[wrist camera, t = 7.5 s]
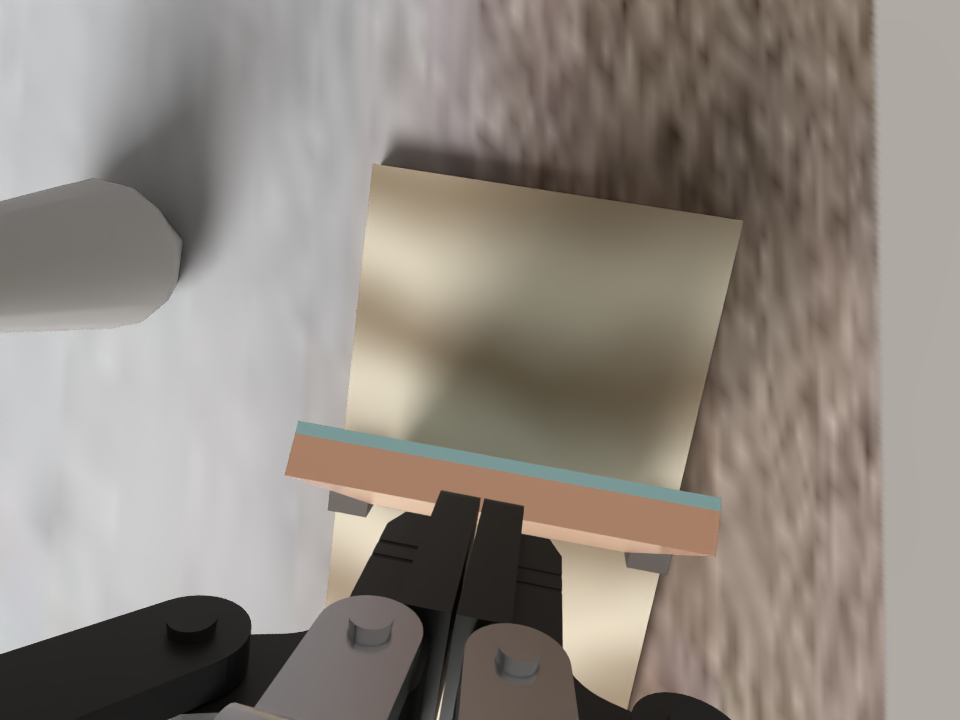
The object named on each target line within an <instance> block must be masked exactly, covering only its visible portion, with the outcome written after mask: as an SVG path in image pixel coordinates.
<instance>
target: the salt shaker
mask: <svg viewBox="0 0 960 720" xmlns="http://www.w3.org/2000/svg"><path fill="white" fill-rule="evenodd" d="M182 245H183V240H182V239H181V238H180V236H179V235H178V234H177V233H176V232H175V230H174V229H173V228H172V227H171V225H170V224H169V223H168V221H167V220H166V219H165V217H164V216H163V214H162V213H161V211H160V210H159V209H158V208H157V207H155V206H154V205H153V204H152V203H151V202H149V201H148V200H147V199H146V198H145V197H144V196H142V195H141V194H140V193H139V192H138V191H137V190H135V189H134V188H132V187H128V186H125V185H120V184H116V183H112V182H108V181H103V180H99V179H95V178H93V179H88V180H84V181H80V182H75V183H71V184H66V185H62V186H58V187H54V188H50V189H46V190H43V191H39V192H35V193H31V194H27V195H23V196H19V197H16V198H12V199H8V200H4V201H0V333H10V332H38V331H66V330H93V329H113V328H117V327H122V326H126V325H131V324H136V323H140V322H142V321H143V320H145V319H146V318H148V317H149V316H150V315H151V314H152V313H154V312H155V311H156V310H157V309H158V308H159V307H161V306H162V305H163V304H164V303H165V302H167V301H168V300H169V298H170V296H171V294H172V292H173V290H174V288H175V286H176V285H177V283H178V276H179V268H180V261H181V253H182Z"/></svg>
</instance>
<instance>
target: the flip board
mask: <svg viewBox="0 0 960 720" xmlns="http://www.w3.org/2000/svg"><path fill="white" fill-rule="evenodd" d="M742 226H743V221H742V220H736V219H729V218H723V217H716V216H710V215H703V214H697V213H690V212H684V211H677V210H671V209H664V208H658V207H651V206H645V205H638V204H632V203H625V202H619V201H612V200H606V199H599V198H593V197H586V196H580V195H573V194H567V193H560V192H554V191H547V190H541V189H534V188H528V187H521V186H515V185H508V184H502V183H495V182H489V181H482V180H476V179H469V178H463V177H456V176H450V175H443V174H437V173H430V172H424V171H417V170H411V169H404V168H397V167H391V166H384V165H378V164H373V166H372V175H371V184H370V194H369V203H368V212H367V222H366V231H365V241H364V250H363V259H362V269H361V278H360V288H359V297H358V306H357V316H356V325H355V334H354V344H353V353H352V363H351V372H350V381H349V391H348V400H347V409H346V419H345V428H344V429H345V430H351V431H356V432H362V433H367V434H373V435H378V436H384V437H389V438H395V439H400V440H406V441H411V442H417V443H422V444H428V445H433V446H439V447H444V448H450V449H455V450H461V451H466V452H472V453H477V454H482V455H488V456H493V457H499V458H504V459H510V460H515V461H521V462H526V463H532V464H537V465H543V466H548V467H554V468H559V469H565V470H570V471H576V472H581V473H587V474H592V475H598V476H603V477H609V478H614V479H620V480H625V481H631V482H636V483H642V484H647V485H653V486H658V487H663V488H669V489H674V490H680V486H681V481H682V477H683V473H684V469H685V465H686V460H687V456H688V452H689V448H690V444H691V439H692V435H693V431H694V427H695V423H696V418H697V414H698V410H699V406H700V402H701V397H702V393H703V389H704V385H705V381H706V377H707V372H708V368H709V364H710V360H711V356H712V351H713V347H714V343H715V339H716V335H717V330H718V326H719V322H720V318H721V314H722V309H723V305H724V301H725V297H726V293H727V288H728V284H729V280H730V276H731V272H732V267H733V263H734V259H735V255H736V251H737V247H738V242H739V238H740V234H741V230H742ZM328 510H329V511H334V512H336V513H335V522H334V531H333V541H332V550H331V560H330V569H329V578H328V588H327V597H326V606H325V608H326V607H328V606H329V605H330V604H332V603H334V602H336V601H338V600H341V599H344V598H348V597H350V595H351V593H352V591H353V589H354V587H355V585H356V583H357V581H358V579H359V577H360V575H361V573H362V571H363V569H364V568H365V566H366V564H367V562H368V560H369V558H370V556H372V552H373V550H374V548H375V546H376V544H377V542H379V538H380V536H381V534H382V533H383V531H384V529H385V527H386V525H387V523H388V522H390V521H391V520H393V519H395V518H396V517H398V516H400V515H401V514H403V513H404V512H406V511H401V510H396V509H390V508H385V507H380V506H377V505H373V504H370V503H367V502H364V501H361V500H358V499H355V498H352V497H349V496H346V495H343V494H340V493H337V492H334V491H331V490H330V494H329V504H328ZM477 527H478V525H477ZM477 527H476V531H477ZM521 534H522V533H521ZM475 535H476V533H475ZM526 535H527V534H526ZM531 536H533V535H531ZM537 537H538V536H537ZM542 538H543V537H542ZM547 539H548V538H547ZM550 540H551V542H552V543H553V545H554V546H555V547H556V549H557V550H558V552H559V553H560V555H561V556H562V616H563V649H564V650H565V652H566V653H567V655H568V657H569V659H570V662H571V666H572V673H573V675H574V677H575V678H576V679H577V680H578V681H579V682H580V683H581V684H582V685H583V686H585V687H586V688H587V689H588V690H590V691H591V692H593V693H594V694H596V695H597V696H599V697H601V698H603V699H605V700H607V701H609V702H611V703H613V704H615V705H618V706H620V707H622V708H624V709H626V710H627V708H628V704H629V699H630V695H631V691H632V687H633V683H634V678H635V674H636V670H637V666H638V662H639V657H640V653H641V649H642V645H643V641H644V637H645V632H646V628H647V624H648V620H649V616H650V611H651V607H652V603H653V599H654V595H655V590H656V586H657V582H658V578H659V574H664V575H667V574H668V570H669V566H670V562H671V557H672V554H652V553H630V552H617V551H612V550H606V549H601V548H596V547H591V546H585V545H580V544H575V543H569V542H564V541H559V540H554V539H550ZM444 686H445V685H444ZM443 692H444V690H443ZM442 698H443V694H442ZM442 698H441V703H440V707H439V711H438V716H437V720H439V717H440V710H441V704H442Z"/></svg>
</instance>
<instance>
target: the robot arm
mask: <svg viewBox="0 0 960 720" xmlns="http://www.w3.org/2000/svg"><path fill="white" fill-rule="evenodd" d="M480 502H481V498H480V497H475V496H470V495H464V494H459V493H454V492H449V491H443V490H441V491H440V493H439V496H438V498H437V501H436V504H435V506H434V509H433V511H432V514H431V516H427V515H422V514H417V513H412V512H407V511H406V512H404V513H403V514H401V515H400V516H398V517H396V518H395V519H393V520H391V521H390V522H388V523H387V525H386V527H385V529H384V531H383V533H382V534H381V536H380V538H379V542H377V544H376V546H375V548H374V550H373V552H372V556H370V558H369V560H368V562H367V564H366V566H365V568H364V569H363V571H362V573H361V575H360V577H359V579H358V581H357V583H356V585H355V587H354V589H353V591H352V593H351V595H350V597H348V598H344V599H341V600H338V601H336V602H334V603H332V604H330V605H329V606H328V607H326V608H325V609H324V610H323V611H322V612H321V614H320V615H319V616H318V618H317V619H316V620H315V622H314V623H313V625H312V626H311V628H310V629H309V630H307V631H303V632H297V633H289V634H254V635H251V620H250V617H249V615H248V614H247V612H246V611H245V610H244V609H243V608H242V607H240V606H239V605H237V604H236V603H234V602H232V601H229V600H227V599H223V598H219V597H214V596H200V595H197V596H186V597H180V598H175V599H172V600H168V601H165V602H162V603H159V604H155V605H152V606H149V607H146V608H143V609H140V610H137V611H134V612H131V613H127V614H124V615H121V616H118V617H115V618H112V619H109V620H106V621H102V622H99V623H96V624H93V625H90V626H87V627H84V628H81V629H78V630H74V631H71V632H68V633H65V634H62V635H59V636H56V637H53V638H50V639H46V640H43V641H40V642H37V643H34V644H31V645H28V646H25V647H22V648H18V649H15V650H12V651H9V652H6V653H3V654H0V720H437V716H438V711H439V707H440V703H441V698H442V694H443V698H442V704H441V710H440V717H439V720H731V719H730V718H728V717H727V716H726V715H725V714H723V713H722V712H721V711H719V710H717V709H716V708H714V707H713V706H711V705H709V704H707V703H705V702H703V701H701V700H698V699H696V698H693V697H690V696H687V695H683V694H678V693H668V692H662V693H654V694H650V695H647V696H645V697H643V698H642V699H640V700H639V701H638V702H637V703H636V704H635V706H634V707H633V710H632V712H631V711H629V710H626V709H624V708H622V707H620V706H618V705H615V704H613V703H611V702H609V701H607V700H605V699H603V698H601V697H599V696H597V695H596V694H594V693H593V692H591V691H590V690H588V689H587V688H586V687H585V686H583V685H582V684H581V683H580V682H579V681H578V680H577V679H576V678H575V677H574V675H573V673H572V666H571V662H570V659H569V657H568V655H567V653H566V652H565V650H564V649H563V616H562V556H561V555H560V553H559V552H558V550H557V549H556V547H555V546H554V545H553V543H552V542H551V540H550V539H547V538H542V537H537V536H531V535H526V534H521V533H522V524H523V515H524V506H523V505H517V504H512V503H507V502H502V501H496V500H491V499H486V498H484V502H483V506H482V510H481V514H480V518H479V522H478V527H477V521H478V515H479V509H480ZM476 527H477V531H476ZM475 533H476V535H475ZM444 685H445V686H444ZM443 690H444V692H443Z"/></svg>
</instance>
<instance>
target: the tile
mask: <svg viewBox="0 0 960 720" xmlns="http://www.w3.org/2000/svg"><path fill="white" fill-rule="evenodd" d="M285 475H286V476H289V477H292V478H295V479H298V480H301V481H304V482H307V483H310V484H313V485H316V486H319V487H322V488H325V489H328V490H331V491H334V492H337V493H340V494H343V495H346V496H349V497H352V498H355V499H358V500H361V501H364V502H367V503H370V504H373V505H377V506H380V507H385V508H390V509H396V510H401V511H407V512H412V513H417V514H422V515H427V516H431V514H432V511H433V509H434V506H435V504H436V501H437V498H438V496H439V493H440V491H441V490H443V491H449V492H454V493H459V494H464V495H470V496H475V497H480V498H481V502H480V509H479V515H478V521H477V525H478V522H479V518H480V514H481V510H482V506H483V502H484V498H486V499H491V500H496V501H502V502H507V503H512V504H517V505H523V506H524V515H523V524H522V534H527V535H533V536H538V537H543V538H548V539H554V540H559V541H564V542H569V543H575V544H580V545H585V546H591V547H596V548H601V549H606V550H612V551H617V552H630V553H652V554H675V555H697V556H716V550H717V540H718V529H719V519H720V509H721V498H718V497H713V496H707V495H702V494H696V493H691V492H685V491H680V490H674V489H669V488H663V487H658V486H653V485H647V484H642V483H636V482H631V481H625V480H620V479H614V478H609V477H603V476H598V475H592V474H587V473H581V472H576V471H570V470H565V469H559V468H554V467H548V466H543V465H537V464H532V463H526V462H521V461H515V460H510V459H504V458H499V457H493V456H488V455H482V454H477V453H472V452H466V451H461V450H455V449H450V448H444V447H439V446H433V445H428V444H422V443H417V442H411V441H406V440H400V439H395V438H389V437H384V436H378V435H373V434H367V433H362V432H356V431H351V430H345V429H340V428H334V427H329V426H323V425H318V424H312V423H307V422H301V421H298V425H297V429H296V433H295V437H294V441H293V444H292V448H291V452H290V456H289V460H288V464H287V468H286V472H285Z"/></svg>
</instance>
